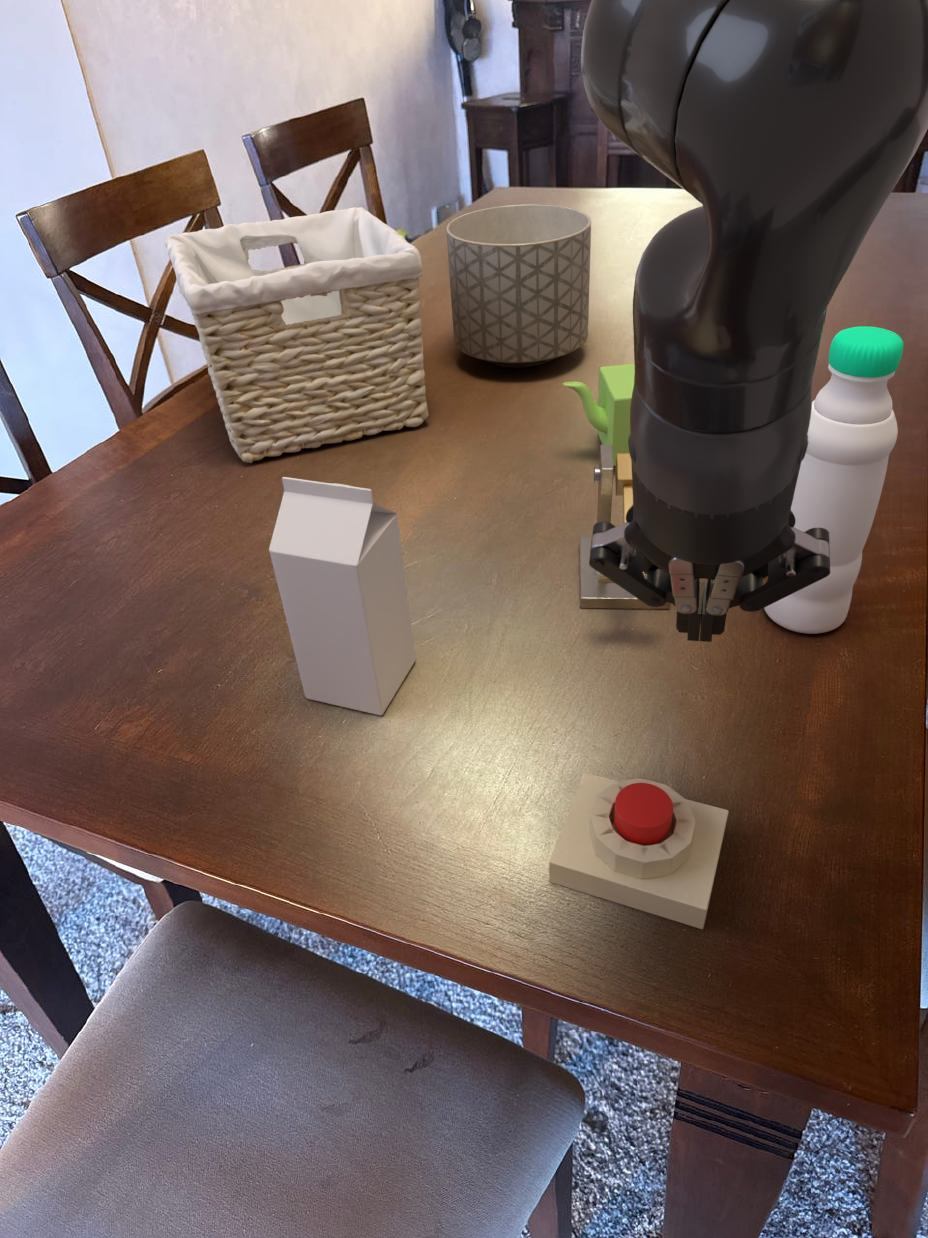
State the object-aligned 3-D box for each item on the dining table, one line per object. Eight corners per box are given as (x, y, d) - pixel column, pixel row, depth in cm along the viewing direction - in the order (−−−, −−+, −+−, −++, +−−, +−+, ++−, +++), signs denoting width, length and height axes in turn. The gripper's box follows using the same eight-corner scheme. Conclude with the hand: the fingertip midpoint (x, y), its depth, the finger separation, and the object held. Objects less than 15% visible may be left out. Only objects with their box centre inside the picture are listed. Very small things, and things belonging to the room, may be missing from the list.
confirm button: (607, 835, 55) (608, 818, 54) (621, 794, 57) (623, 776, 56) (664, 852, 54) (666, 834, 53) (676, 808, 56) (678, 790, 55)
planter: (470, 392, 116) (462, 251, 105) (444, 341, 131) (434, 213, 119) (605, 372, 118) (611, 232, 107) (564, 325, 133) (566, 197, 122)
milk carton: (383, 717, 69) (348, 516, 57) (305, 699, 72) (256, 502, 60) (417, 661, 74) (391, 465, 62) (343, 646, 77) (305, 454, 65)
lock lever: (664, 589, 71) (668, 575, 69) (597, 588, 72) (598, 574, 70) (659, 469, 77) (662, 452, 74) (596, 469, 77) (597, 453, 75)
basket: (202, 388, 123) (159, 226, 109) (383, 353, 129) (364, 195, 115) (229, 474, 102) (180, 288, 89) (442, 427, 109) (427, 246, 95)
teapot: (733, 444, 101) (746, 356, 94) (681, 495, 93) (691, 403, 86) (618, 415, 108) (622, 331, 102) (560, 459, 100) (561, 372, 94)
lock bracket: (669, 609, 78) (683, 485, 70) (580, 608, 79) (584, 486, 71) (660, 546, 86) (672, 428, 77) (579, 546, 86) (582, 429, 78)
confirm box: (548, 882, 57) (548, 845, 54) (583, 792, 62) (584, 754, 60) (703, 930, 53) (710, 893, 51) (724, 830, 59) (732, 792, 56)
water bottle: (862, 616, 75) (946, 335, 60) (809, 648, 73) (882, 362, 57) (797, 578, 80) (858, 309, 64) (744, 608, 77) (795, 333, 62)
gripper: (870, 379, 39) (811, 582, 54) (578, 383, 42) (598, 572, 57) (879, 514, 36) (814, 691, 50) (560, 506, 39) (586, 674, 54)
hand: (699, 628), depth 54 cm, fingers closed
